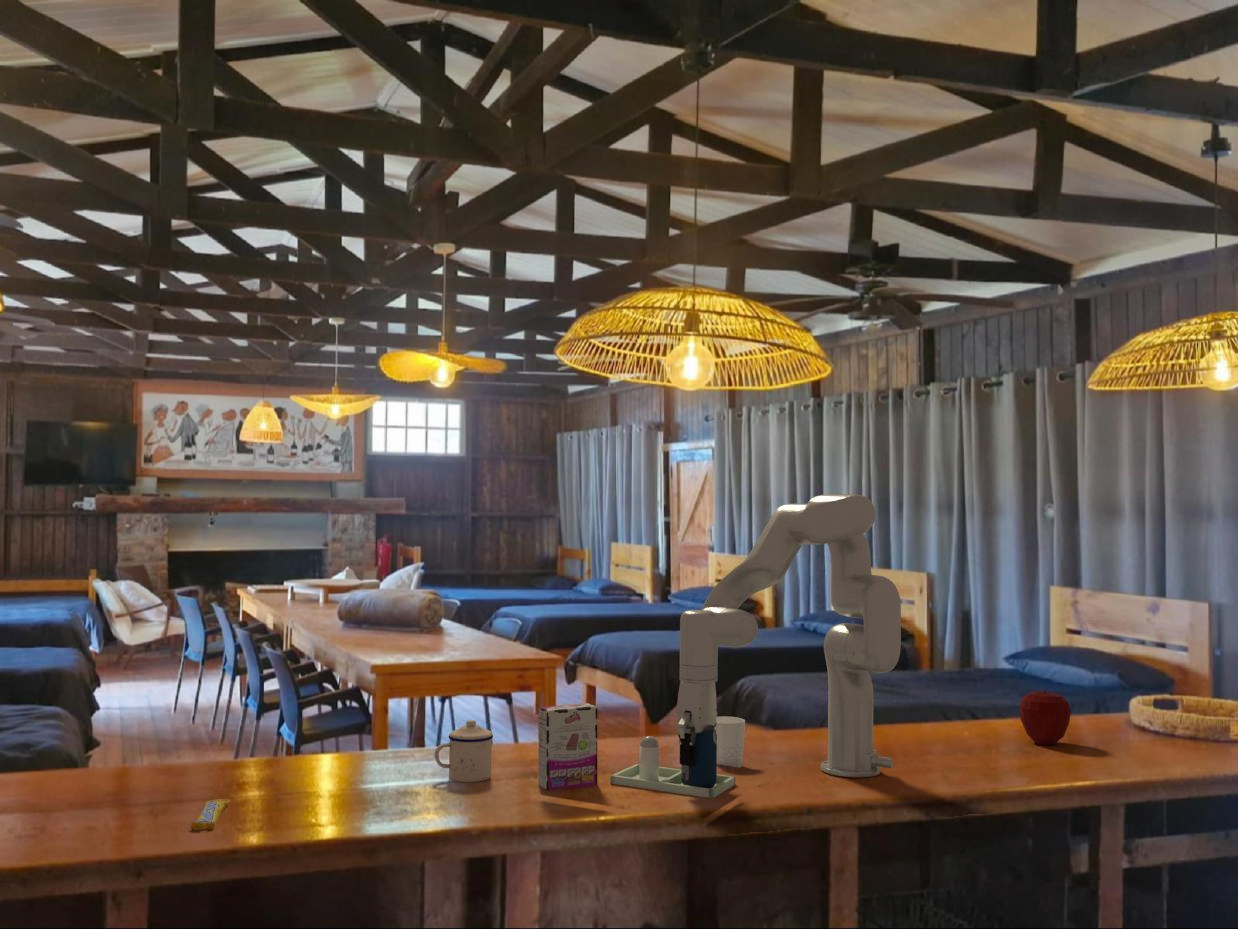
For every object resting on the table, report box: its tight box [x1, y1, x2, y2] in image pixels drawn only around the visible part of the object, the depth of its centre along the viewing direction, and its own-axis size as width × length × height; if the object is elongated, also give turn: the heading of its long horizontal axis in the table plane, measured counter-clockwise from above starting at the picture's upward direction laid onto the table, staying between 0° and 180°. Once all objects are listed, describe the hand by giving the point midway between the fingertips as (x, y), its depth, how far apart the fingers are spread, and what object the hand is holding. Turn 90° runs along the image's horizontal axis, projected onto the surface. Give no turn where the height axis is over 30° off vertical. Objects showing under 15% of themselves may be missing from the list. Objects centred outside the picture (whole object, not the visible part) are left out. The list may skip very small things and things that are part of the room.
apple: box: [1019, 688, 1072, 746], centre depth 263 cm, size 12×12×13 cm
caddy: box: [609, 763, 736, 799], centre depth 214 cm, size 22×12×2 cm, turn 63°
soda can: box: [680, 725, 718, 789], centre depth 212 cm, size 7×7×12 cm
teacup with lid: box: [434, 719, 494, 783], centre depth 221 cm, size 12×9×12 cm
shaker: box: [638, 735, 660, 781], centre depth 217 cm, size 4×4×9 cm
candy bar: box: [190, 798, 230, 832], centre depth 191 cm, size 17×4×2 cm, turn 12°
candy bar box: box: [537, 702, 598, 791], centre depth 213 cm, size 11×5×16 cm, turn 118°
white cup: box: [715, 715, 746, 768], centre depth 235 cm, size 8×8×10 cm
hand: (697, 760), depth 212 cm, fingers open, 9 cm apart
